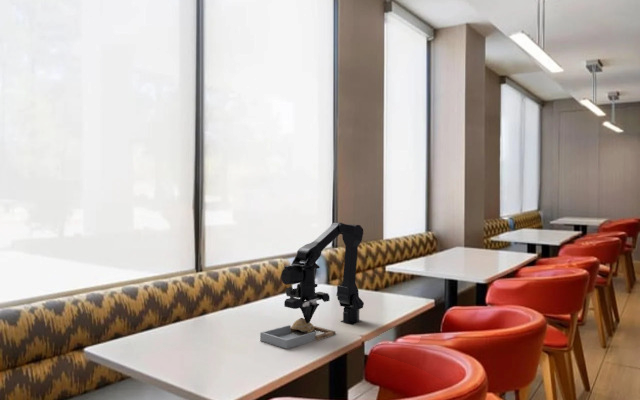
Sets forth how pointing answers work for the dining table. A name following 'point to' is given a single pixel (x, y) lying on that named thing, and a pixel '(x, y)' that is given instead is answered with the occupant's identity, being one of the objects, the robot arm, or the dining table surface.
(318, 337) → the cradle
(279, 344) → the tray
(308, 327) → the seashell
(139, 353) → the dining table surface
